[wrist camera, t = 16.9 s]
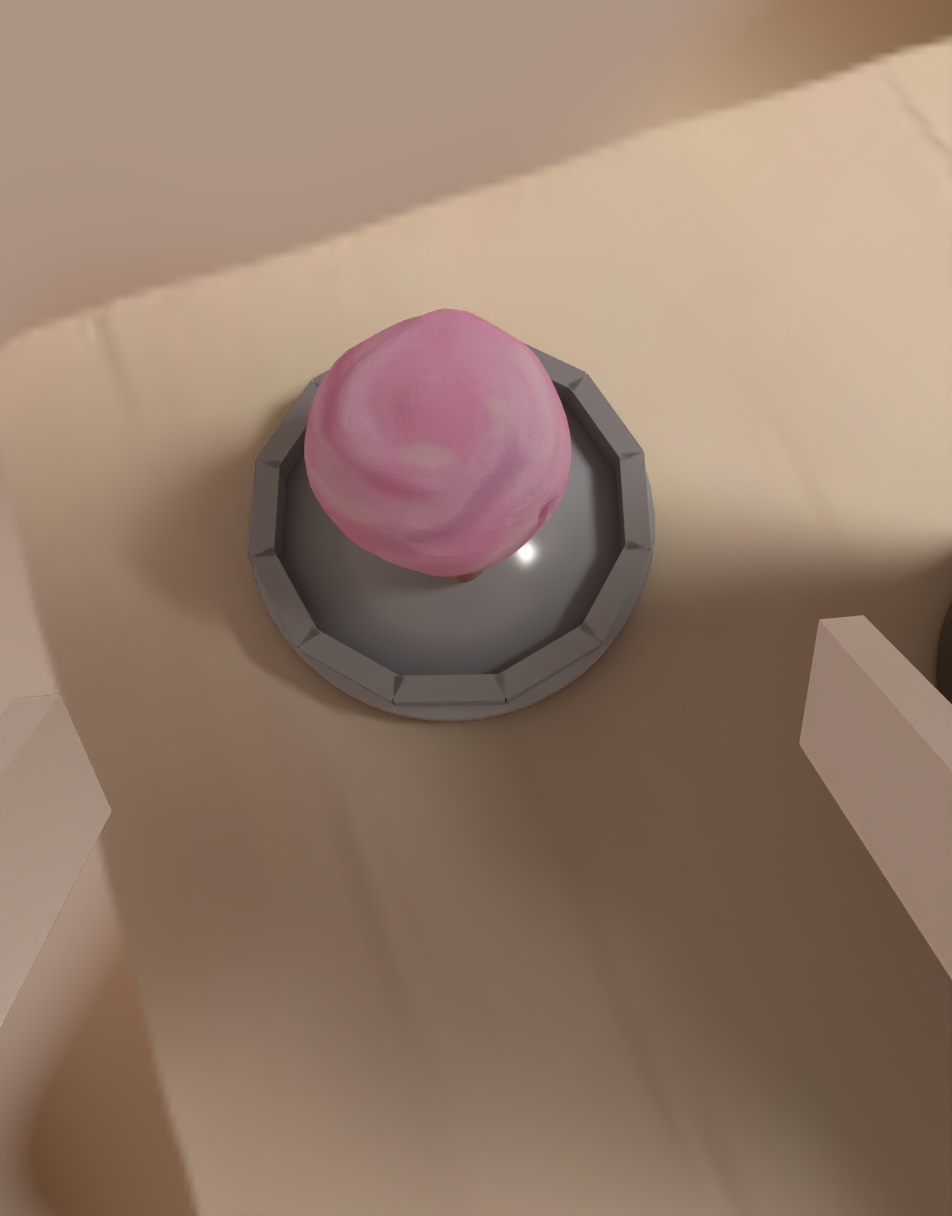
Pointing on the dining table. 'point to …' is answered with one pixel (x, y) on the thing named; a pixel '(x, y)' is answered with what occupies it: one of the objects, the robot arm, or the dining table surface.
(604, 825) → the dining table surface
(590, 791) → the dining table surface
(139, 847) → the dining table surface
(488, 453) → the cupcake
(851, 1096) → the dining table surface
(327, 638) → the slate plate
